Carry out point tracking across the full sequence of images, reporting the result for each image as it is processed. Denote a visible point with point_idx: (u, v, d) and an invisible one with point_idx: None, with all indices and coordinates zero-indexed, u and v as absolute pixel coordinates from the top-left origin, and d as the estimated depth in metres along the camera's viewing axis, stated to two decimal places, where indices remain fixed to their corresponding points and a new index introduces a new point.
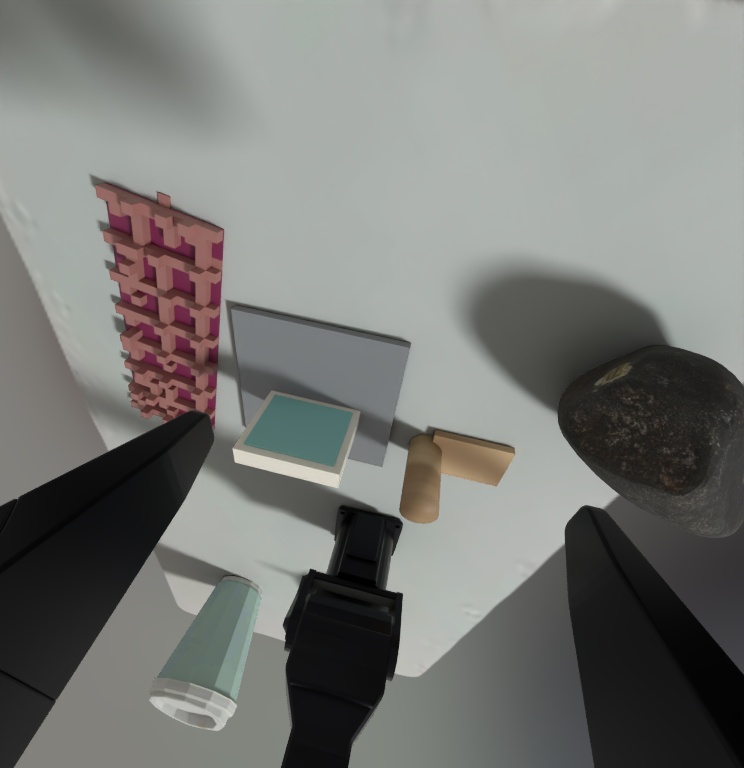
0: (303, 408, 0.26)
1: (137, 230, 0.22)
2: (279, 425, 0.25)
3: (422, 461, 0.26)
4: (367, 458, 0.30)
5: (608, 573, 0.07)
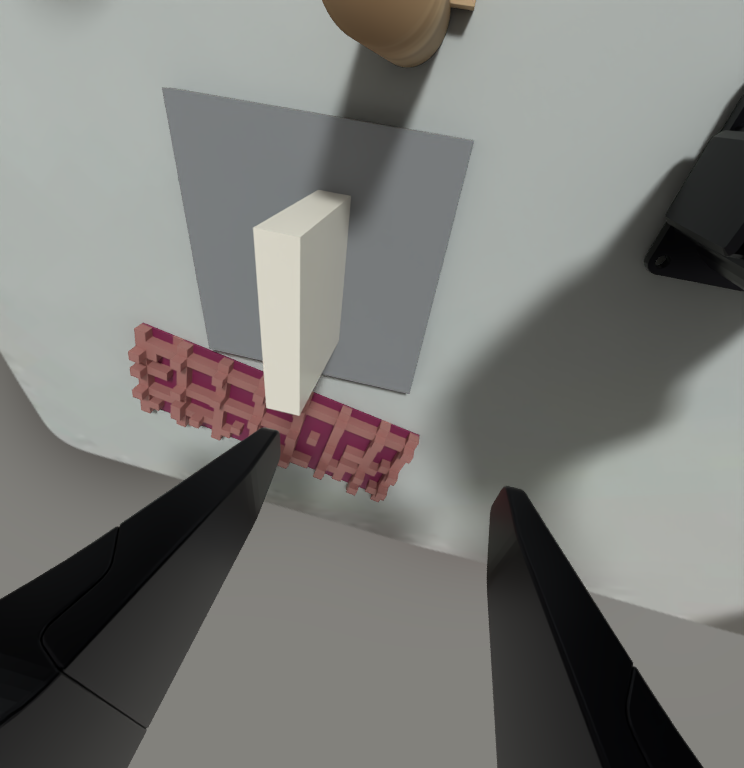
0: None
1: (164, 397, 0.25)
2: None
3: None
4: (447, 180, 0.14)
5: (513, 549, 0.07)
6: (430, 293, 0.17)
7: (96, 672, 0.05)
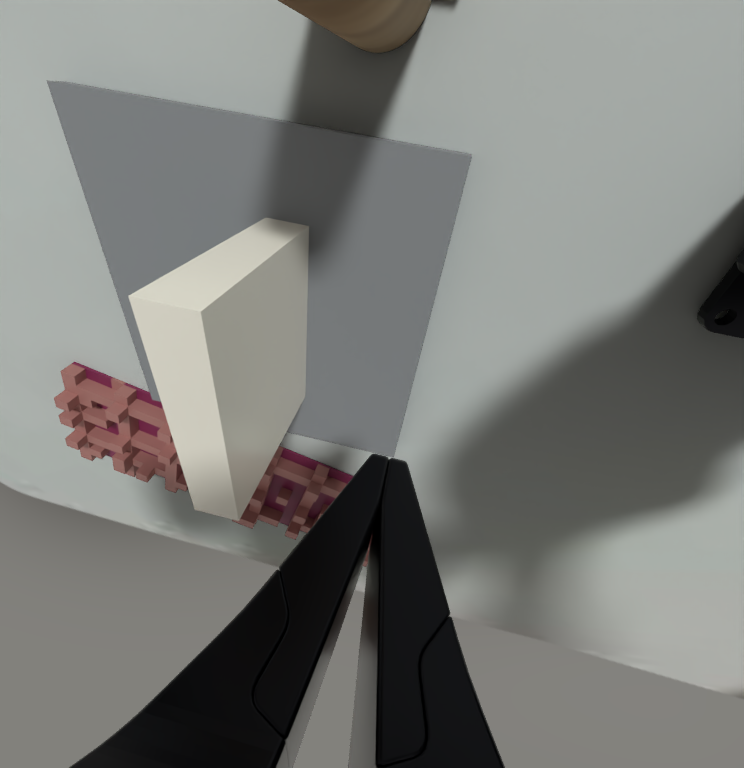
0: None
1: (106, 445, 0.21)
2: None
3: None
4: (435, 208, 0.10)
5: (378, 514, 0.07)
6: (416, 346, 0.13)
7: (294, 733, 0.04)
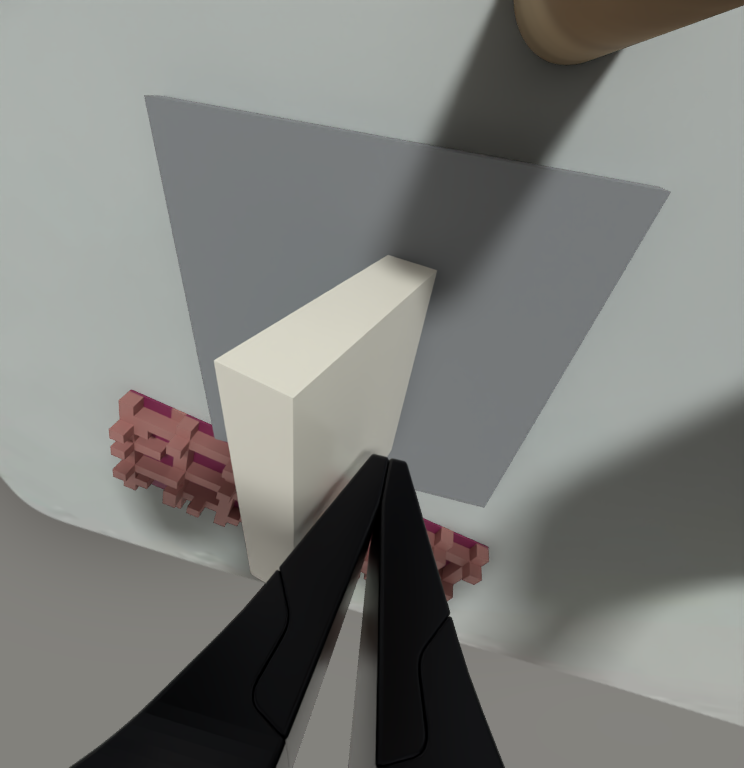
0: None
1: (154, 476, 0.19)
2: None
3: None
4: (606, 249, 0.09)
5: (378, 514, 0.07)
6: (541, 398, 0.11)
7: (293, 732, 0.04)
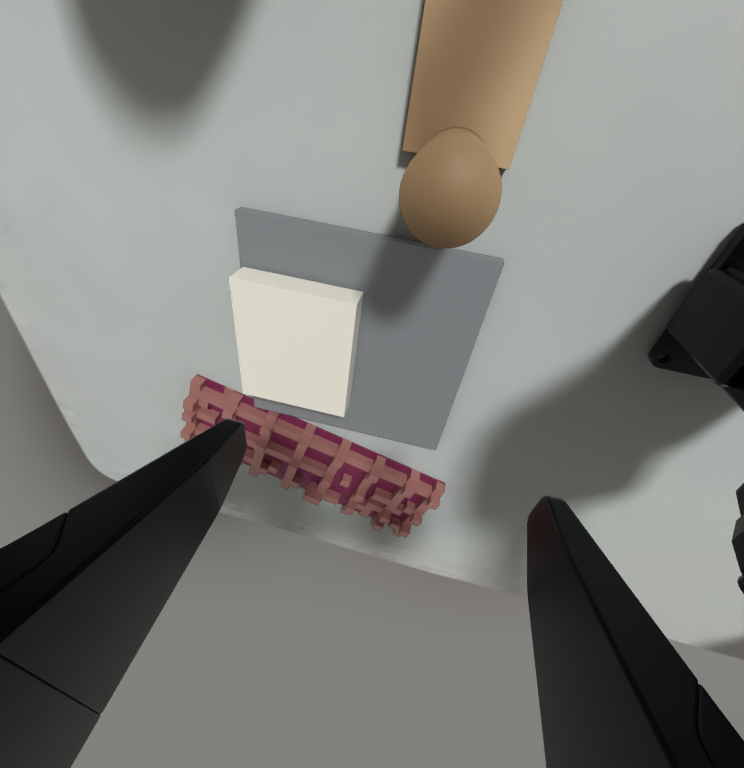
0: None
1: None
2: None
3: None
4: (479, 289, 0.16)
5: (560, 561, 0.07)
6: (459, 373, 0.19)
7: (34, 653, 0.05)
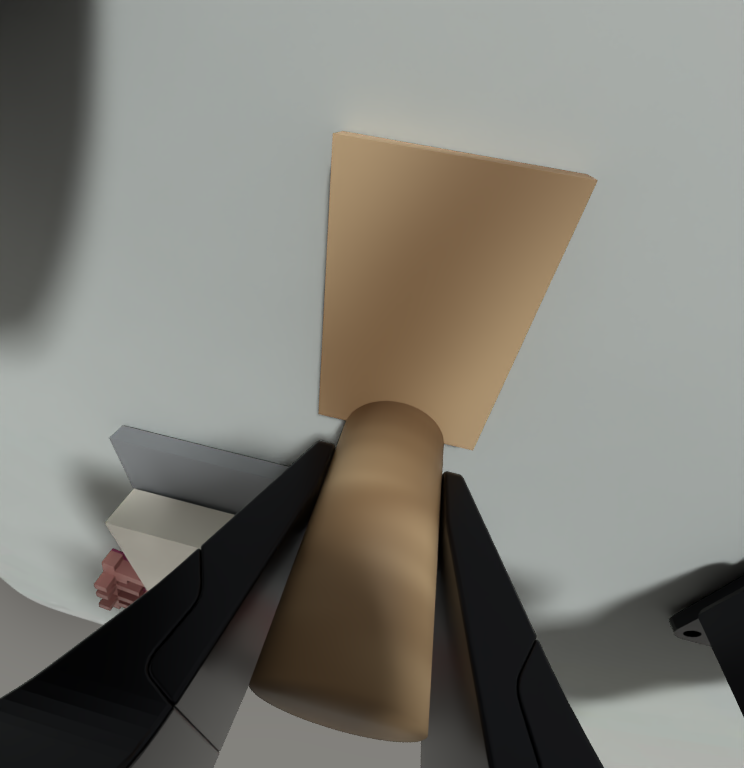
0: None
1: None
2: None
3: None
4: None
5: (443, 531, 0.07)
6: None
7: (196, 703, 0.05)
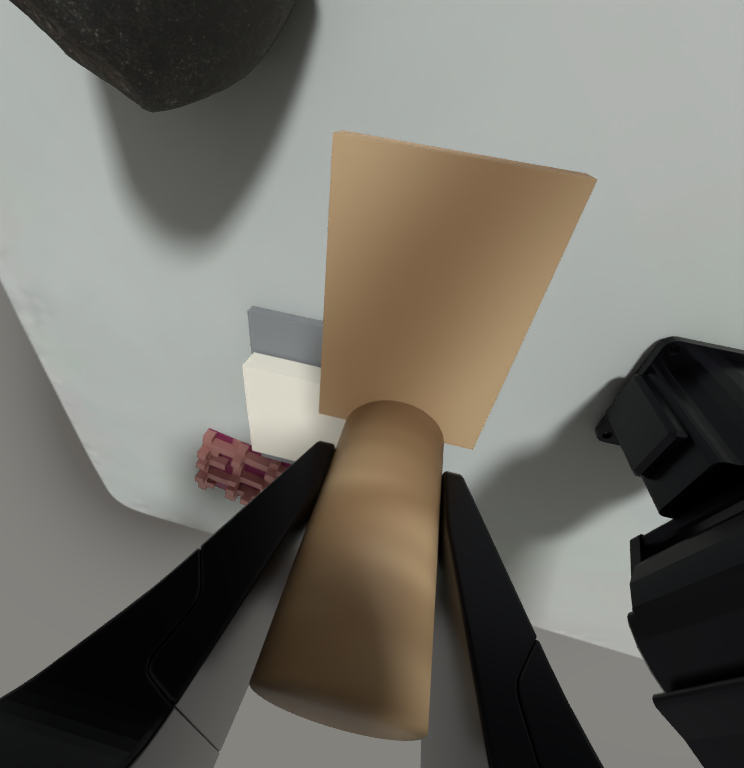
0: None
1: (219, 480, 0.30)
2: None
3: None
4: None
5: (442, 531, 0.07)
6: None
7: (196, 703, 0.05)
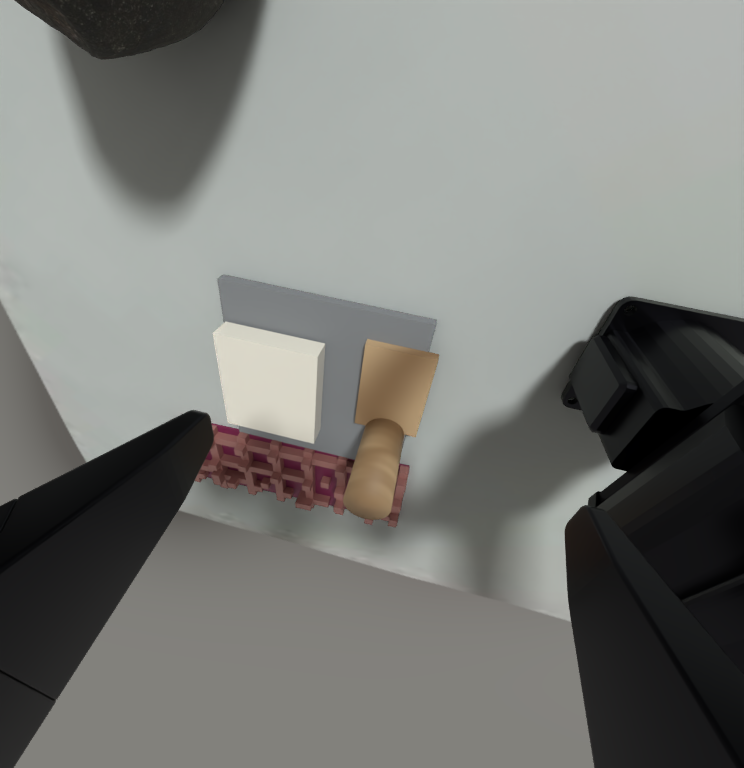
0: None
1: (206, 468, 0.31)
2: None
3: None
4: (419, 344, 0.20)
5: (608, 573, 0.07)
6: None
7: None
